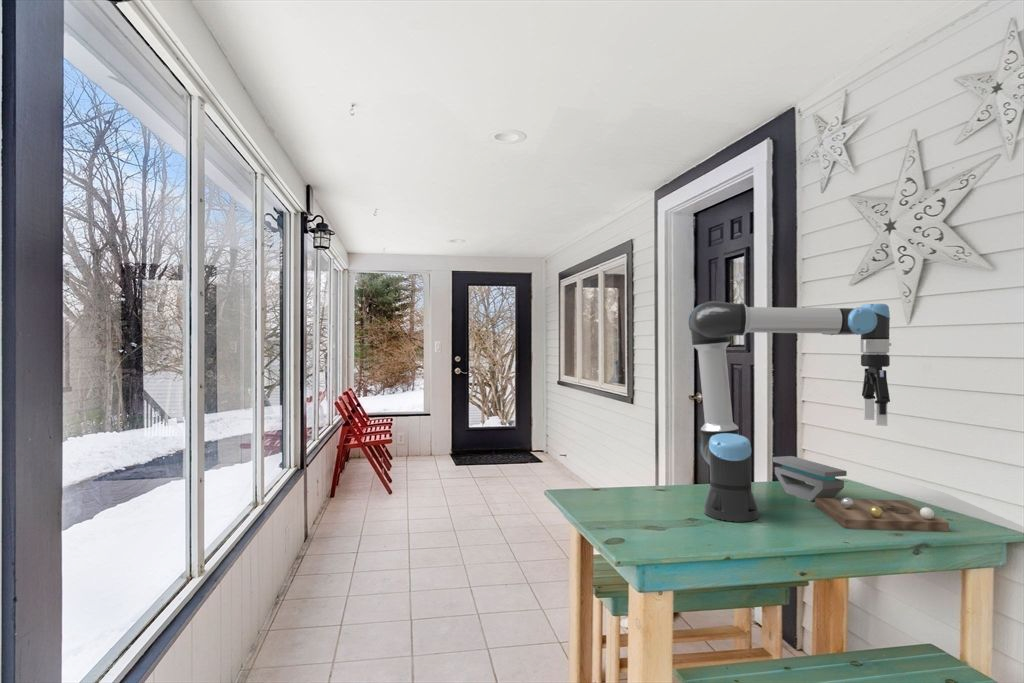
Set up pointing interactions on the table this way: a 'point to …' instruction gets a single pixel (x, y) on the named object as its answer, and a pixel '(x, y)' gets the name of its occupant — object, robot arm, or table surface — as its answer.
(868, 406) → the robot arm
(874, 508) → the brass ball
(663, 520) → the table surface
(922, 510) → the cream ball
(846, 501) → the steel ball
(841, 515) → the walnut plate
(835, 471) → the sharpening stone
